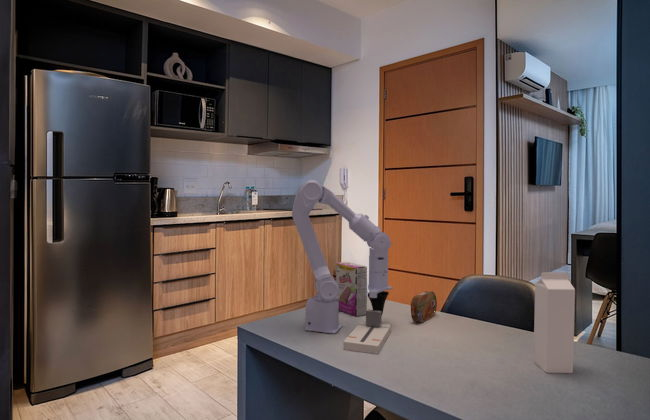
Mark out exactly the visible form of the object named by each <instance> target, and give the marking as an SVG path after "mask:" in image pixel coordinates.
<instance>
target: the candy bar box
mask: <svg viewBox="0 0 650 420" xmlns="http://www.w3.org/2000/svg"><path fill="white" fill-rule="evenodd" d="M367 267H368V266H366V265H362V264H358V263H353V262H348V261H341V262H336V263H335V281H336V282H337V284H338V285H339V294H338V297H339V311H340V312H342V313H344V314H348V315H351V316H353V317H356V318H357V317H362V316H366V311H367V310H368V309H367V307H368V305H367V304H368V302H367V301H368V300H367V297H368V292H367V290H368V278H367V277H368V271H367V270H368V268H367Z"/></svg>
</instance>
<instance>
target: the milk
mask: <svg viewBox="0 0 650 420" xmlns="http://www.w3.org/2000/svg"><path fill="white" fill-rule="evenodd" d="M540 277H541V279H540V280H537V282H535V283H534V317H533V318H534V322H533V323H534V325H533V327H534V328H533V363H534V364H535V365H536V366H538V367H539V368H540V369H541V370H542V371H544V373H546V374H547V373H548V374H573V373H574V349H575V345H574V343H575V342H574V341H575V310H576V307H575V305H576V301H575V300H576V288H575V287H574V286H573V285H572V283H571V282H570V280H569V274H568V273H567V272H559V271H558V272H552V271H551V272H550V271H549V272H545V271H544V272H541V276H540Z"/></svg>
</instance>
